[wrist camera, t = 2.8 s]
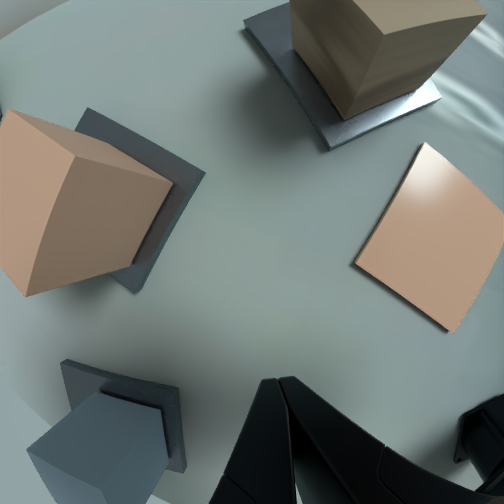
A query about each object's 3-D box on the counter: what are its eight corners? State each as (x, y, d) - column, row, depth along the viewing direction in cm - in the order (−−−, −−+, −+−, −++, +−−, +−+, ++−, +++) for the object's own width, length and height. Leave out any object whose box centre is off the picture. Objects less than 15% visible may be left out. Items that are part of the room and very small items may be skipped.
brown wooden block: (419, 88, 15) (487, 14, 6) (344, 120, 16) (384, 34, 7) (367, 20, 14) (395, -72, 6) (292, 45, 15) (284, -58, 7)
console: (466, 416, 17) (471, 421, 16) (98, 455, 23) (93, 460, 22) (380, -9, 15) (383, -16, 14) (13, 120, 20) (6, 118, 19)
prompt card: (507, 223, 16) (511, 223, 15) (449, 330, 17) (453, 333, 16) (421, 144, 16) (424, 141, 16) (353, 262, 18) (355, 263, 17)
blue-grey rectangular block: (160, 409, 19) (100, 489, 10) (169, 462, 20) (125, 536, 11) (95, 391, 20) (26, 449, 11) (108, 443, 21) (56, 503, 12)
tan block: (173, 183, 17) (75, 155, 8) (129, 266, 18) (25, 297, 9) (107, 143, 18) (8, 108, 9) (71, 219, 19) (-31, 223, 10)
